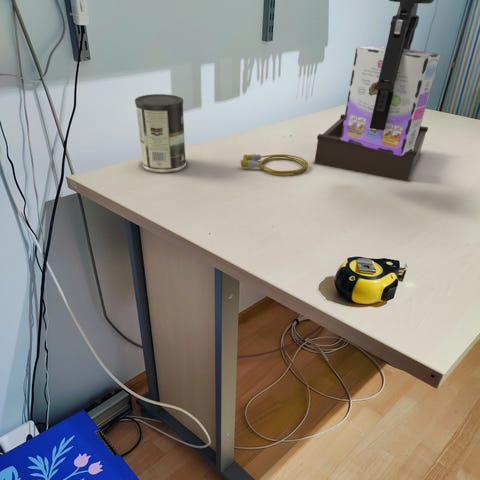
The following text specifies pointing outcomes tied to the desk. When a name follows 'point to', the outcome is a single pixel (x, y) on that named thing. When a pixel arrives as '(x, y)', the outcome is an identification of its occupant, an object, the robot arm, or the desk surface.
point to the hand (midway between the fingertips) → (380, 123)
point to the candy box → (402, 105)
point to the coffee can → (161, 132)
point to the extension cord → (252, 159)
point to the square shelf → (365, 155)
